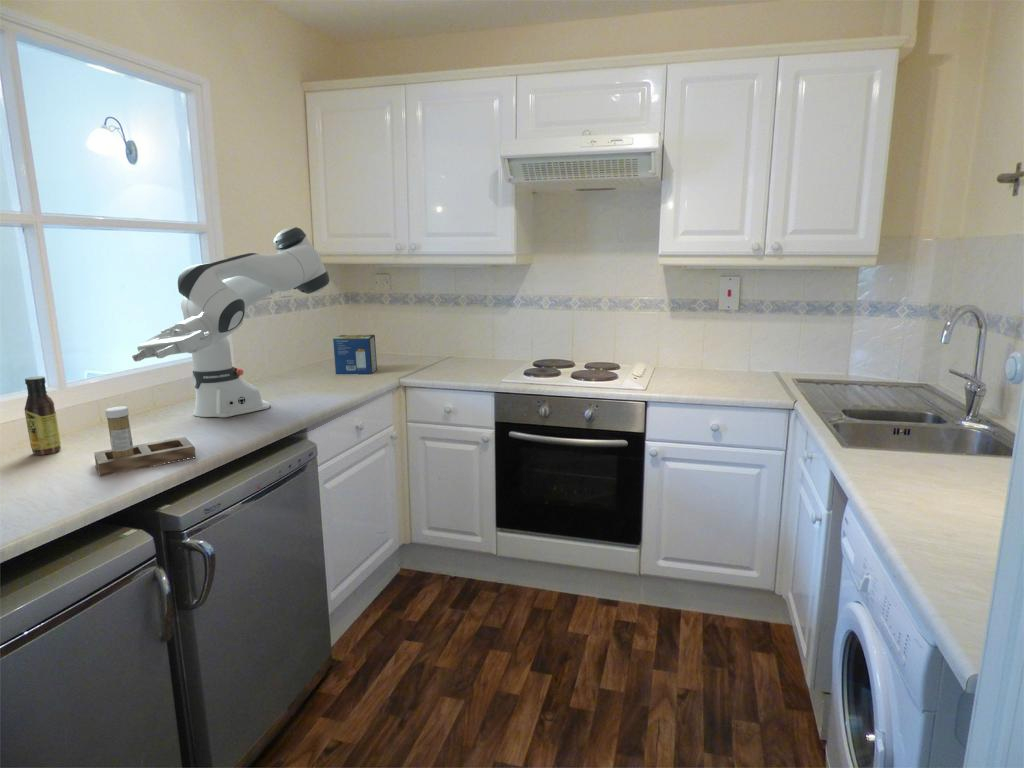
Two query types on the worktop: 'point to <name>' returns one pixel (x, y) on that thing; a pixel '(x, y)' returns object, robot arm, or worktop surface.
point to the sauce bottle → (41, 418)
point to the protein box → (355, 354)
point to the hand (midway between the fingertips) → (146, 357)
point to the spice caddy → (145, 456)
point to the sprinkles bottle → (119, 431)
